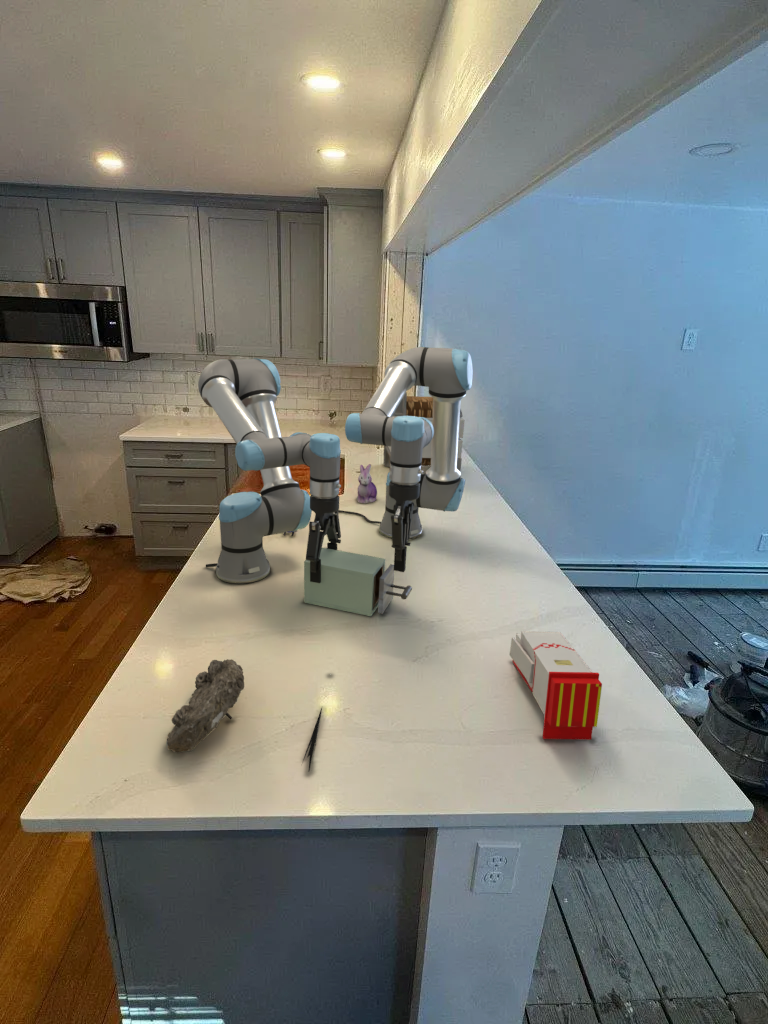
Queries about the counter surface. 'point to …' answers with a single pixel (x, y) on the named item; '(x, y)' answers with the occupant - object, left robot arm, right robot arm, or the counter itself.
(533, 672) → the toy
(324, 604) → the cabinet
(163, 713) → the counter surface
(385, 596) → the drawer
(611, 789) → the counter surface
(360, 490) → the figurine
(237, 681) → the fossil
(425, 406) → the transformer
